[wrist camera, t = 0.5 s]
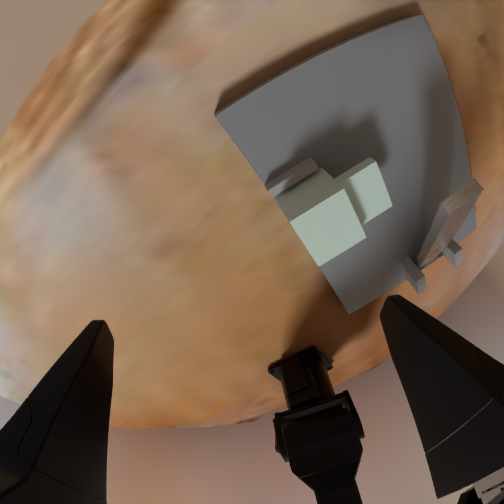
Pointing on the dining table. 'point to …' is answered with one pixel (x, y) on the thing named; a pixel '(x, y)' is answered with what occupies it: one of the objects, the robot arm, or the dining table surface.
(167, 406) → the dining table surface
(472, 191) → the strap
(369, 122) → the board
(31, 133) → the dining table surface
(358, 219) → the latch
